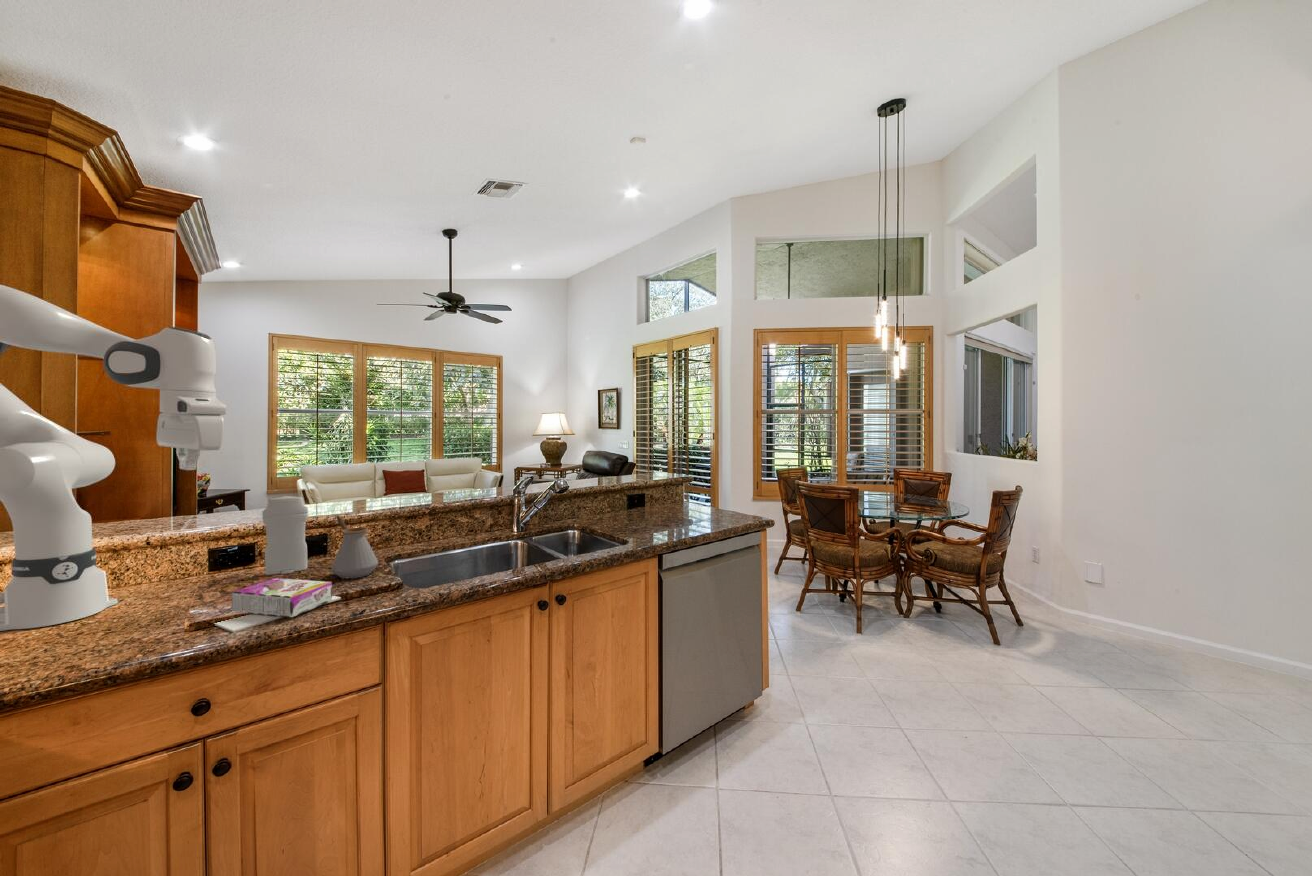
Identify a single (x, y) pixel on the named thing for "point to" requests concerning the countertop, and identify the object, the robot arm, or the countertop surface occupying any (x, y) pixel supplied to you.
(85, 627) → the countertop surface
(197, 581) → the countertop surface
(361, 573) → the coffee pot
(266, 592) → the candy bar box
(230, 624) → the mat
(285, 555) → the gray flat bottle
